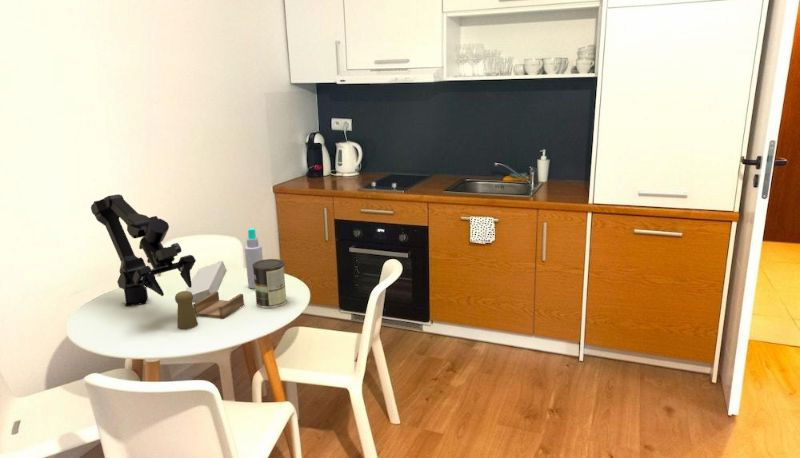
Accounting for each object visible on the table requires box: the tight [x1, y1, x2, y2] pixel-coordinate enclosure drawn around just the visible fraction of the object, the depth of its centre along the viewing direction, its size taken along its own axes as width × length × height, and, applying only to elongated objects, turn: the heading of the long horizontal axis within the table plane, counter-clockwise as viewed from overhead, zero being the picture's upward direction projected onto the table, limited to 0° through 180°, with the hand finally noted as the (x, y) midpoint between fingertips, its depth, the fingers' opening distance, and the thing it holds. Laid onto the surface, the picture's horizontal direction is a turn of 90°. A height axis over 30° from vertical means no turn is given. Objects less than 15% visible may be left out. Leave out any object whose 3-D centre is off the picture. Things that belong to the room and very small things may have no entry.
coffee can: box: [252, 258, 288, 309], centre depth 191 cm, size 10×10×14 cm
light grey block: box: [185, 260, 227, 304], centre depth 211 cm, size 34×5×10 cm
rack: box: [192, 291, 245, 320], centre depth 187 cm, size 11×12×4 cm
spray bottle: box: [244, 227, 264, 290], centre depth 206 cm, size 6×6×22 cm
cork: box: [174, 290, 199, 330], centre depth 174 cm, size 6×6×11 cm
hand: (177, 291), depth 176 cm, fingers open, 9 cm apart
